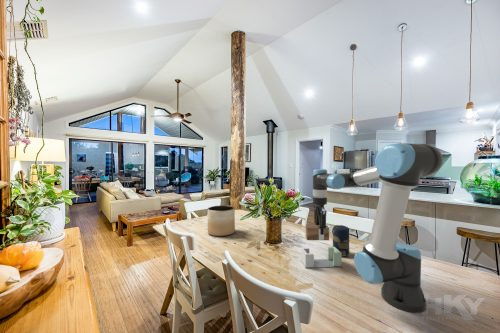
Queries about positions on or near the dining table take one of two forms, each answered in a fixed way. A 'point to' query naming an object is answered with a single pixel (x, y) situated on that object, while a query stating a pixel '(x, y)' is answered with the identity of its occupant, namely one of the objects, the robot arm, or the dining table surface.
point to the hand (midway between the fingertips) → (319, 238)
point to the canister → (341, 239)
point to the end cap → (334, 256)
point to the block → (316, 232)
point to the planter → (221, 220)
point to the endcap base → (315, 260)
